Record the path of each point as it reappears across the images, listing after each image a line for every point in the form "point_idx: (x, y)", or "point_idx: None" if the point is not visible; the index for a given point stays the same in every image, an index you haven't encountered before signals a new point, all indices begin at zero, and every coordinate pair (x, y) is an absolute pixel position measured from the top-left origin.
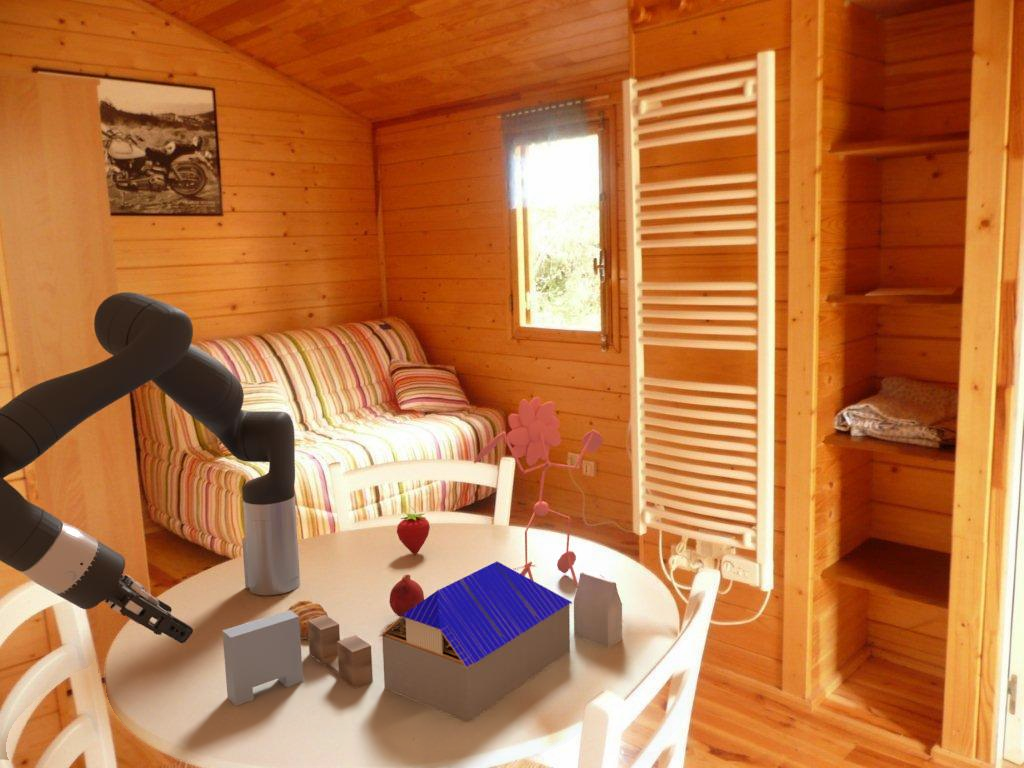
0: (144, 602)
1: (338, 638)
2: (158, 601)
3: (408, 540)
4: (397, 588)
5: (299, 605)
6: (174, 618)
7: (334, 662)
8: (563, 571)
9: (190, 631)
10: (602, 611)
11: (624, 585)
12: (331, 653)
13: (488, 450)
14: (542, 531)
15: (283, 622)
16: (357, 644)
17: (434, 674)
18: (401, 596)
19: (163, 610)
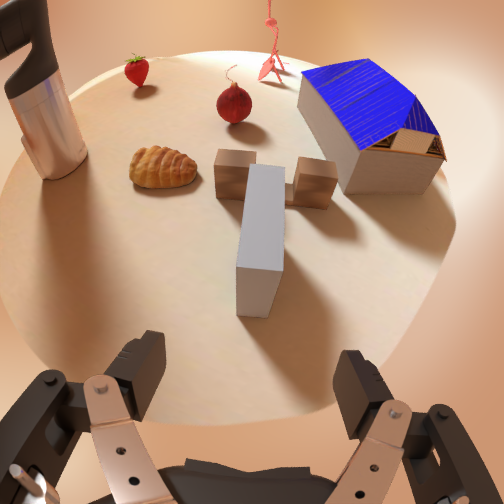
0: (492, 487)
1: None
2: (376, 439)
3: (140, 76)
4: (234, 97)
5: (140, 157)
6: (381, 394)
7: None
8: (263, 64)
9: (368, 360)
10: None
11: (303, 66)
12: None
13: None
14: (197, 52)
15: (284, 187)
16: (323, 166)
17: (411, 170)
18: (242, 103)
19: (407, 428)
